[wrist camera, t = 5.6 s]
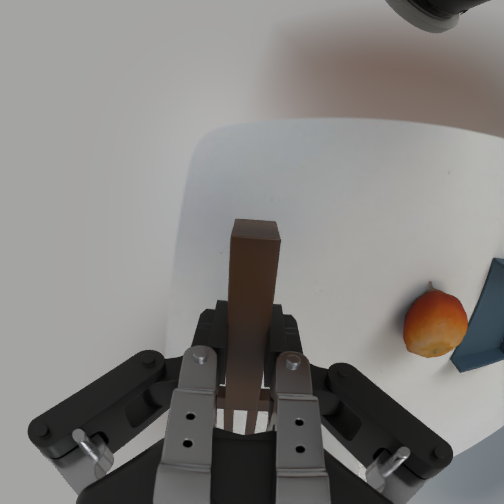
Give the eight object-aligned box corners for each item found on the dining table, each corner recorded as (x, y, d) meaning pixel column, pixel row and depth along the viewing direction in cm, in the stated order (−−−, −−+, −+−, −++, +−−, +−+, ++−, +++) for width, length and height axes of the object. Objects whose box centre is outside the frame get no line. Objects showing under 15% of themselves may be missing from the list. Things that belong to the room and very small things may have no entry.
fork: (196, 215, 12) (183, 232, 10) (314, 224, 12) (327, 243, 10) (205, 425, 18) (201, 450, 16) (272, 430, 18) (273, 454, 16)
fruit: (470, 288, 25) (480, 347, 20) (425, 314, 31) (427, 369, 26) (437, 260, 24) (449, 329, 19) (388, 293, 30) (388, 355, 25)
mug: (298, 429, 36) (306, 493, 25) (298, 406, 34) (308, 479, 23) (360, 418, 36) (377, 478, 24) (366, 394, 33) (390, 460, 22)
